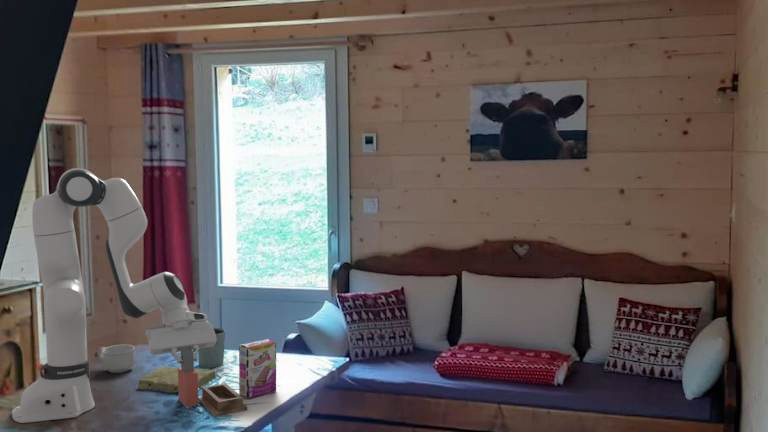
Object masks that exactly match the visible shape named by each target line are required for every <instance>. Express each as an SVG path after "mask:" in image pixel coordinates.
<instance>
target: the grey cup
mask: <svg viewBox="0 0 768 432" xmlns="http://www.w3.org/2000/svg"><path fill="white" fill-rule="evenodd" d="M213 329H214V332H215V334H216V338H217V340H216V343H215V345H214V346H213V347H208V348H201V349H198V352H197V357H198V360H197V361H198V366H199V365H200V367H201V366H204V367H203V368H215V367H214V366H217V367H219V366H222V365H223V364H224V358H225V356H224V354H225V340H226V330H225V329H223V328H219V327H213Z"/></svg>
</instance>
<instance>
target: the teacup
mask: <svg viewBox="0 0 768 432" xmlns="http://www.w3.org/2000/svg"><path fill="white" fill-rule="evenodd" d="M135 349H136V348H135V345H133V344H124V343H123V344H114V345H110V346H107V347H105V346H104V347H103V346H102V347H100V348H98V351H97V355H98V356H99V358H100V360H102V361H103V363H102V364H103V367H104V368H105V370H106V371H108V372H110V373H111V374H122V373H125V372H128V371H129V370H131V369H132V368H133V366H134V365H135V363H136V361H135V360H136V353H135V351H136V350H135Z"/></svg>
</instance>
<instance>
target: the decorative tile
mask: <svg viewBox="0 0 768 432" xmlns="http://www.w3.org/2000/svg"><path fill="white" fill-rule="evenodd" d="M194 371H196V372H197V373H198V388H200V387H201V386H203V385H204V384H205V385H206V383H207V384H208V383H210V382H211V381H213V380H214V379H216V378H217V374H216V370H215V369H204V368H194ZM212 379H213V380H212ZM209 381H210V382H209ZM205 385H204V386H205ZM204 386H203V387H204ZM138 388H139V389H138ZM201 388H202V387H201ZM201 388H200V389H201ZM137 389H138V390H151V389H155V390H154V391H159V390H162V391H161V392H164V391H169V392H168V393H175V392H178V367H172V366H162V367H159V368H157V369H155V370H152V371H151V372H149V373H148V374H146V375H144V376H143V377H141V378H140V379H139V380H138V384H137Z"/></svg>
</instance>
